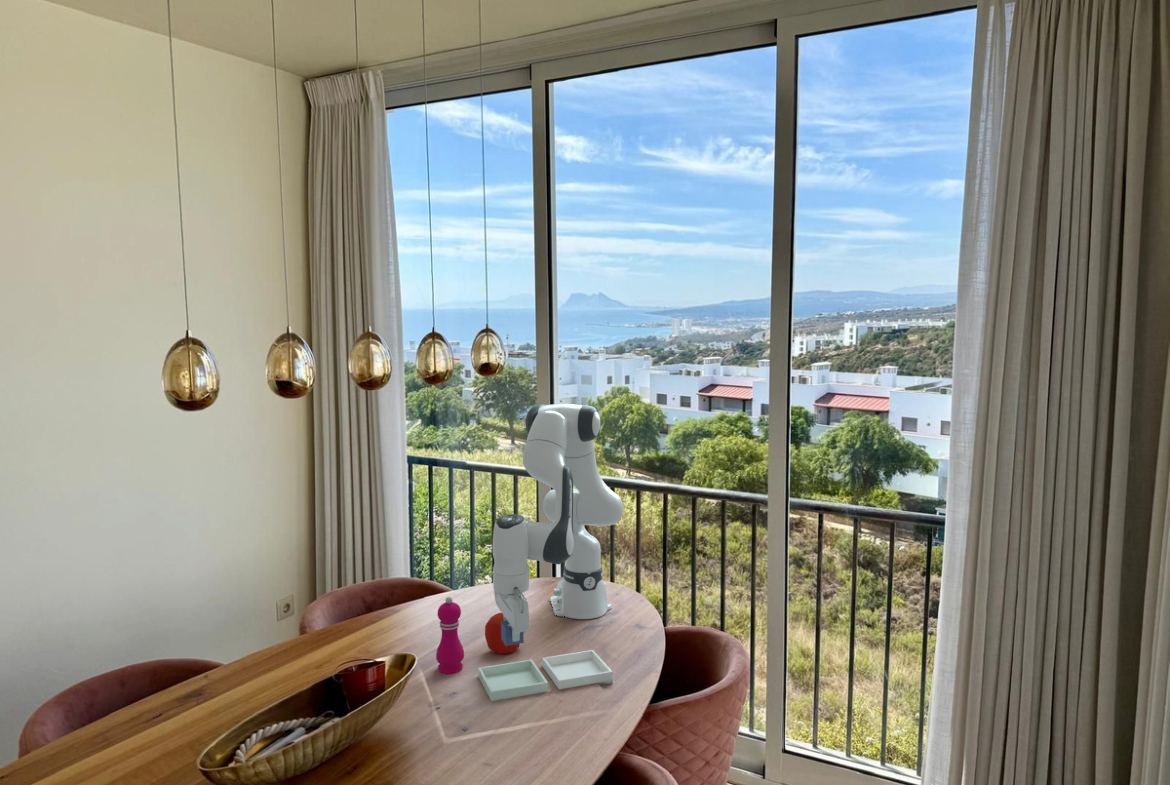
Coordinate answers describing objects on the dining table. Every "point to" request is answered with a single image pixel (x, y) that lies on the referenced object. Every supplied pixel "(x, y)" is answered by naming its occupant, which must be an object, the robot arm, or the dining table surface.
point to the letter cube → (509, 634)
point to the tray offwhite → (577, 669)
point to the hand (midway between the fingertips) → (512, 635)
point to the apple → (497, 636)
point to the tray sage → (512, 680)
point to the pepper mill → (449, 639)
